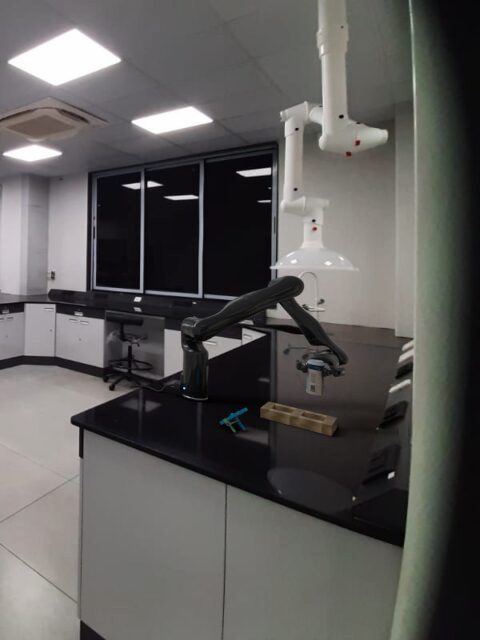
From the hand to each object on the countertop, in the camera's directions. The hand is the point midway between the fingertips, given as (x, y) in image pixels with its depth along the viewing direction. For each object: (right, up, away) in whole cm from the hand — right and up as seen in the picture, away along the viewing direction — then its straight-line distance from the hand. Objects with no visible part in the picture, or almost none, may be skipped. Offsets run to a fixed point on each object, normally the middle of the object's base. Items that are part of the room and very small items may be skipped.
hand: (314, 371), depth 140 cm
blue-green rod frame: (-30, -18, -3) cm, 36 cm away
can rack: (-3, -19, +3) cm, 20 cm away
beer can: (+2, -9, +2) cm, 9 cm away
